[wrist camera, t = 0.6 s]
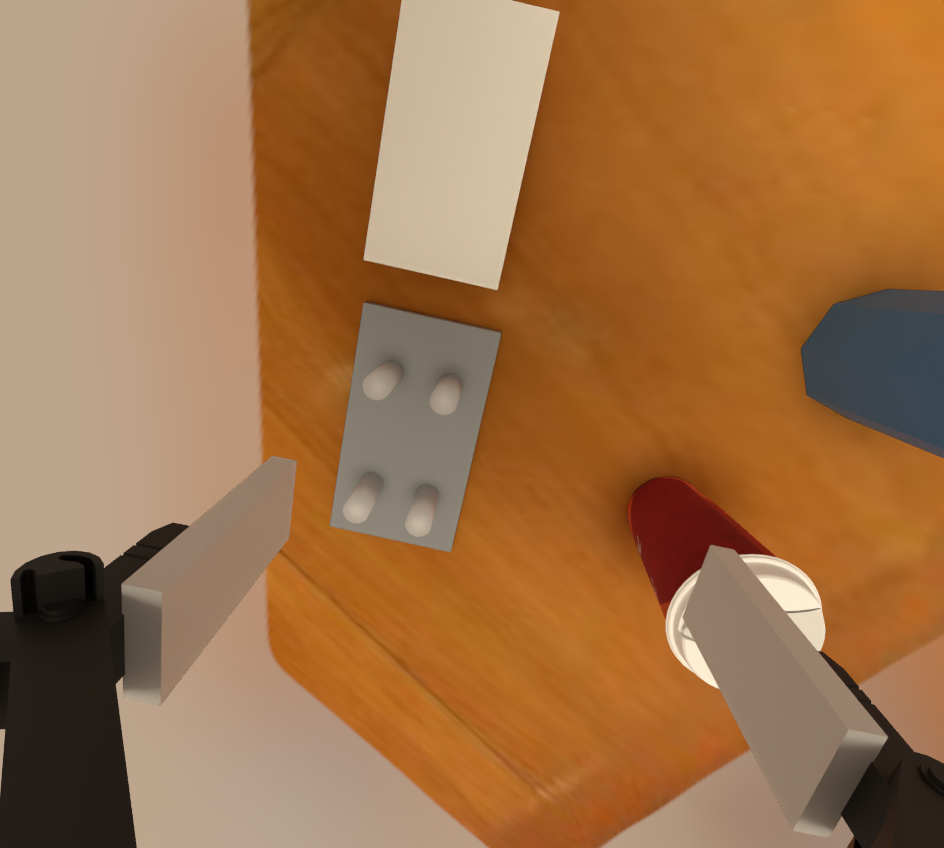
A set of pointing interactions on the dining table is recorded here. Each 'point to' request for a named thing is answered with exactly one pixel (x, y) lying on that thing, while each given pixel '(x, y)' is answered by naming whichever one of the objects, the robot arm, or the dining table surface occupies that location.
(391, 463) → the peg stand
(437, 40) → the shelf board
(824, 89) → the dining table surface
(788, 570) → the coffee cup
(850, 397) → the water bottle
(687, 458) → the dining table surface
